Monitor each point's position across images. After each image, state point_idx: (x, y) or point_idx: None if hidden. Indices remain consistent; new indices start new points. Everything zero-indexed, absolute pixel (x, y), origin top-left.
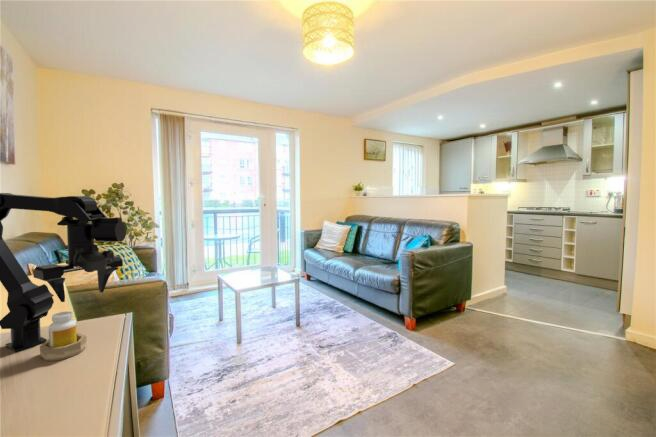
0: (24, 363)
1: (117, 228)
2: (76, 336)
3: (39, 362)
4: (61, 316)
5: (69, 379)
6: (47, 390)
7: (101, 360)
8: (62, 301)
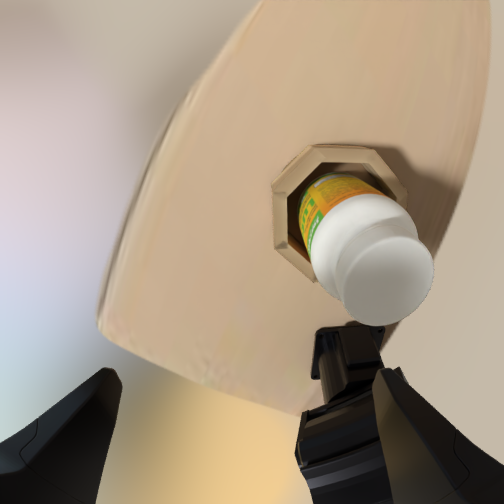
0: None
1: None
2: (307, 204)
3: None
4: (418, 246)
5: (393, 15)
6: (437, 23)
7: (291, 28)
8: (391, 372)
